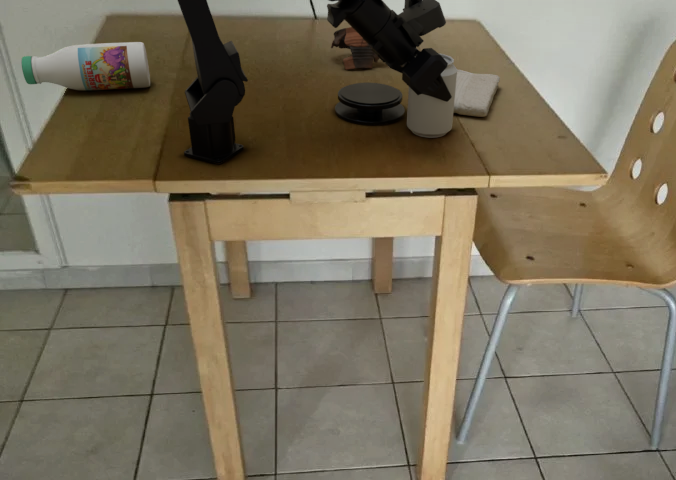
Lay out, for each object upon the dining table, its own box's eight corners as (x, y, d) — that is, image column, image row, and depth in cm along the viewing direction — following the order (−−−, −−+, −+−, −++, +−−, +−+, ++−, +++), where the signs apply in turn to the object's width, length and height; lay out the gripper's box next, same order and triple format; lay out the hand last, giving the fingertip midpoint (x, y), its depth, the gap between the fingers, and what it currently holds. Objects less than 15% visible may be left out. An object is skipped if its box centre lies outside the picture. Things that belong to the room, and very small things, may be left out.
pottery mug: (330, 72, 140) (323, 29, 139) (342, 79, 149) (337, 39, 148) (389, 61, 137) (383, 17, 137) (398, 69, 147) (393, 28, 146)
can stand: (386, 130, 117) (387, 110, 115) (322, 116, 120) (321, 97, 118) (415, 107, 126) (416, 88, 124) (354, 94, 129) (354, 76, 127)
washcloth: (499, 86, 136) (501, 70, 134) (487, 121, 122) (489, 103, 120) (438, 79, 138) (439, 63, 136) (419, 112, 124) (420, 95, 122)
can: (448, 142, 114) (454, 67, 107) (402, 136, 115) (405, 62, 108) (454, 124, 120) (461, 53, 113) (410, 119, 121) (414, 48, 114)
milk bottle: (151, 79, 131) (33, 86, 126) (144, 36, 127) (22, 41, 122) (151, 92, 125) (27, 100, 120) (143, 48, 121) (14, 53, 116)
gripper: (439, -4, 96) (502, 71, 105) (392, -33, 110) (452, 35, 120) (382, 59, 98) (449, 127, 107) (343, 22, 112) (406, 85, 122)
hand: (439, 90), depth 114 cm, fingers closed on can, 7 cm apart
